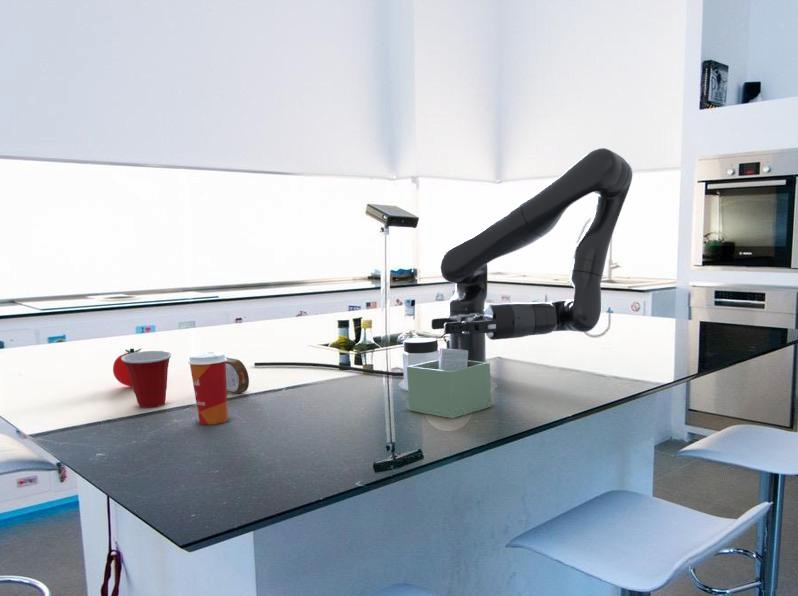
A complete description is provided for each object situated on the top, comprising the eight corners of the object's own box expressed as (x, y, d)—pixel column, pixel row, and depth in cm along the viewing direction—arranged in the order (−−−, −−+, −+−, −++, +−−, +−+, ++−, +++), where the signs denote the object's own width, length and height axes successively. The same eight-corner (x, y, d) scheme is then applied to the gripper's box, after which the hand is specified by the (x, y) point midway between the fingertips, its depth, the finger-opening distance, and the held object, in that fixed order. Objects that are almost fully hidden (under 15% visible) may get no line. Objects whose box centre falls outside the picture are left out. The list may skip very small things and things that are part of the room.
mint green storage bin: (408, 410, 160) (406, 366, 158) (448, 399, 169) (446, 357, 167) (452, 418, 152) (450, 372, 150) (491, 406, 161) (489, 362, 159)
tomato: (106, 389, 197) (101, 351, 195) (136, 381, 207) (131, 345, 205) (136, 390, 193) (132, 352, 191) (166, 382, 203) (161, 346, 201)
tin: (251, 394, 184) (248, 359, 182) (240, 396, 182) (236, 361, 180) (218, 387, 194) (215, 354, 192) (207, 389, 192) (204, 356, 190)
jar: (444, 391, 178) (443, 340, 176) (412, 394, 176) (409, 343, 173) (432, 384, 187) (430, 336, 184) (401, 388, 184) (398, 339, 182)
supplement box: (465, 404, 158) (468, 349, 157) (437, 403, 157) (440, 348, 157) (462, 401, 164) (465, 349, 163) (435, 400, 163) (438, 347, 162)
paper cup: (199, 417, 161) (192, 352, 158) (236, 415, 162) (229, 351, 159) (190, 426, 153) (182, 358, 151) (228, 424, 154) (222, 357, 151)
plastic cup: (129, 412, 168) (122, 359, 166) (125, 404, 178) (118, 353, 175) (180, 406, 173) (174, 354, 171) (173, 397, 183) (167, 348, 180)
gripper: (496, 300, 168) (426, 305, 162) (523, 306, 154) (448, 311, 149) (496, 334, 169) (427, 340, 164) (523, 342, 156) (449, 348, 151)
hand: (437, 326), depth 157 cm, fingers open, 8 cm apart
